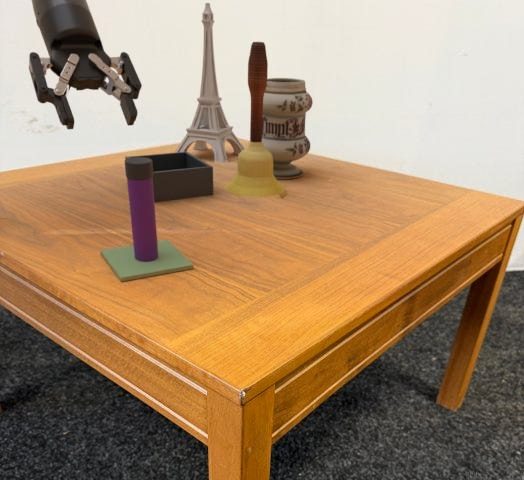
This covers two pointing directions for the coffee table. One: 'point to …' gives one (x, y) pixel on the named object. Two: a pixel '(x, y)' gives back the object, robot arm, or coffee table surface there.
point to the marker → (142, 207)
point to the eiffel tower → (210, 106)
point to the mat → (132, 269)
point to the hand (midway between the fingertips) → (102, 123)
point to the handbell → (256, 137)
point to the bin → (180, 176)
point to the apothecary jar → (285, 124)
